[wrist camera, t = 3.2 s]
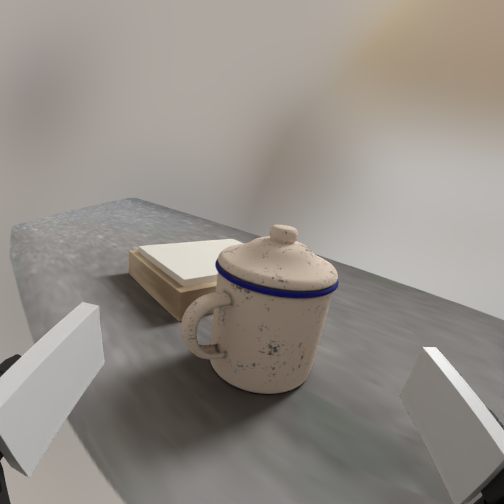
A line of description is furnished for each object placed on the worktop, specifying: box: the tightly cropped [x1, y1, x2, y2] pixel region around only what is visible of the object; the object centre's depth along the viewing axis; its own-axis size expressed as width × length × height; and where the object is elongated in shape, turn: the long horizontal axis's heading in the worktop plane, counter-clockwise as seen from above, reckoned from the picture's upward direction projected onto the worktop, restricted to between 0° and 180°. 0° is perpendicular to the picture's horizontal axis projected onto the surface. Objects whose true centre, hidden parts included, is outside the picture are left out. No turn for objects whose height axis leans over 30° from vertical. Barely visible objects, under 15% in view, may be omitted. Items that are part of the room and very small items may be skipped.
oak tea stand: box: [129, 239, 243, 322], centre depth 39 cm, size 18×14×4 cm
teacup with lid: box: [181, 225, 338, 394], centre depth 22 cm, size 12×9×12 cm
